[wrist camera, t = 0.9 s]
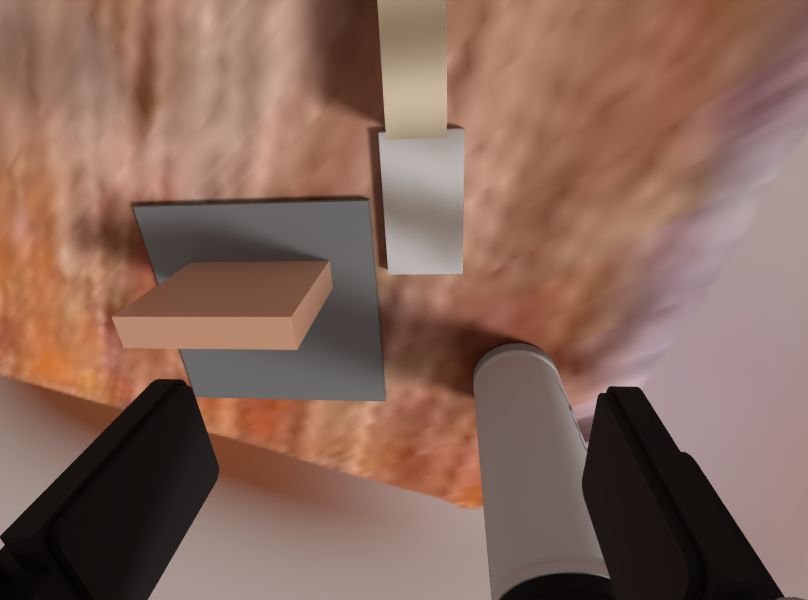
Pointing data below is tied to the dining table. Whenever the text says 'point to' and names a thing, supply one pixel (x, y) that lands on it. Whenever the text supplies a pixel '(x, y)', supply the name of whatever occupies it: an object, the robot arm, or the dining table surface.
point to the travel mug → (534, 482)
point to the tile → (228, 306)
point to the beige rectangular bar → (419, 142)
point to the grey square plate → (282, 241)
